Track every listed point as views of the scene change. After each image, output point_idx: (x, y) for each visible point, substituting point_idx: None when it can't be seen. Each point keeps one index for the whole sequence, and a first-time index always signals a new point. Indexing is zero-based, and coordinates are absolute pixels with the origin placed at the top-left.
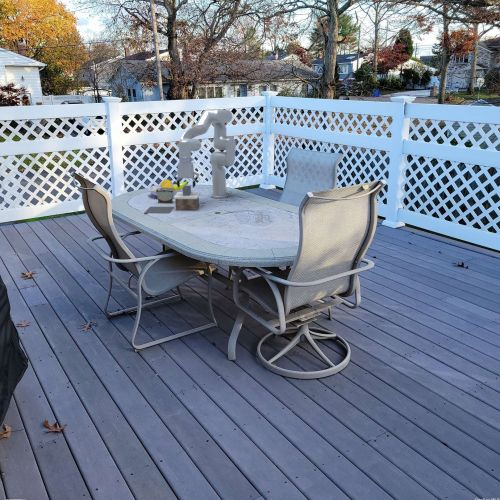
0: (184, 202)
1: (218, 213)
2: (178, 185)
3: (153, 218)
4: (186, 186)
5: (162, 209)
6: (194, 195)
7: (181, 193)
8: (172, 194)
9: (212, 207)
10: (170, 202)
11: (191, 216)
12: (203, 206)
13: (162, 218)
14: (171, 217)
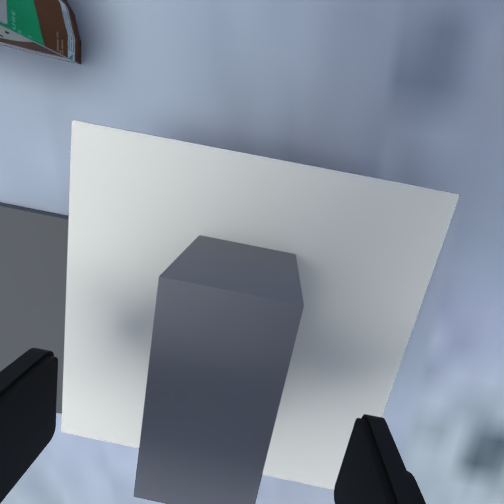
0: None
1: (491, 464)
2: (22, 467)
3: (17, 483)
4: (203, 374)
5: (27, 310)
6: (333, 405)
7: (144, 250)
8: (9, 29)
9: (491, 273)
10: (51, 53)
11: (272, 493)
12: None
13: (76, 495)
14: (133, 486)
